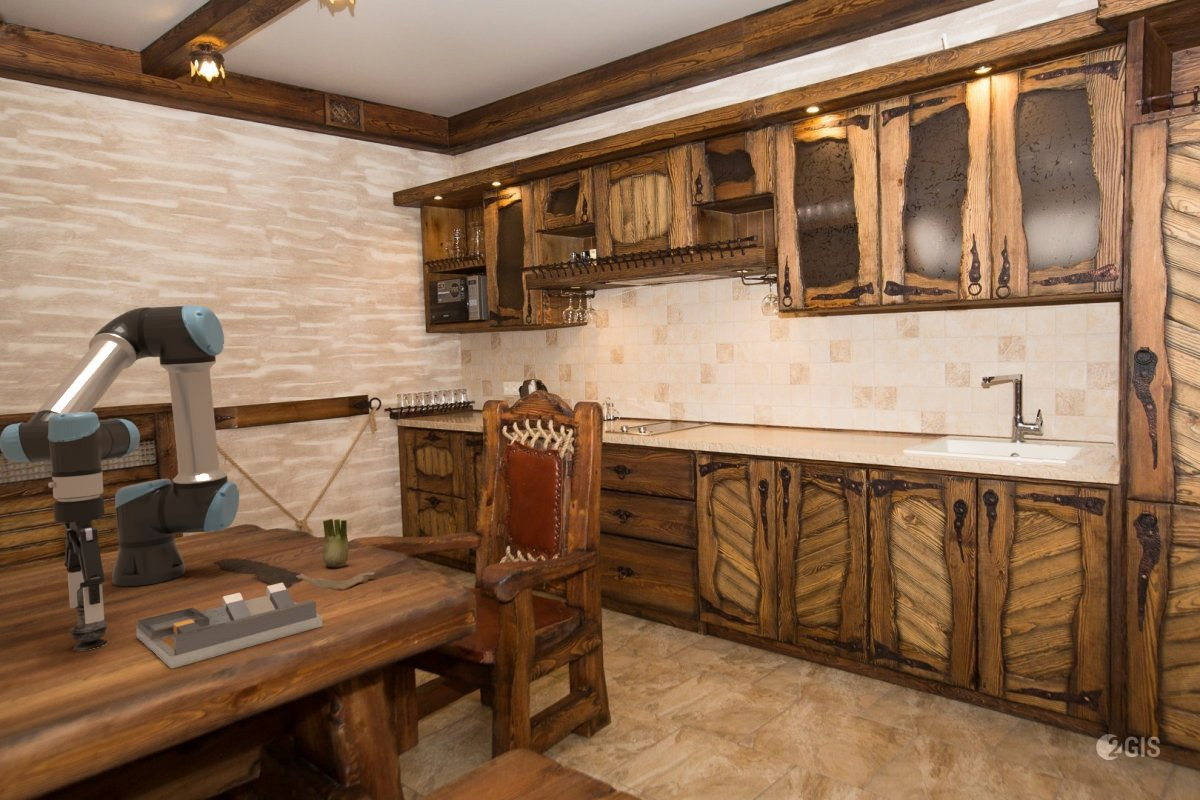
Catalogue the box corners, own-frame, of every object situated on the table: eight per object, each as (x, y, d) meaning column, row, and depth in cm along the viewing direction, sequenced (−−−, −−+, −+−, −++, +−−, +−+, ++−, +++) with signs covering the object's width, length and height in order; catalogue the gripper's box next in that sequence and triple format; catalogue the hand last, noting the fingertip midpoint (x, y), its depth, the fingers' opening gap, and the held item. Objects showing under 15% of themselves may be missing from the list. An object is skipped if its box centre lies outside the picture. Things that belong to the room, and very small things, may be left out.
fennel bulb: (352, 565, 188) (349, 517, 187) (335, 570, 184) (332, 521, 183) (336, 563, 191) (333, 515, 190) (320, 568, 187) (317, 519, 186)
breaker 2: (265, 592, 147) (266, 586, 146) (281, 588, 149) (282, 582, 148) (281, 620, 142) (282, 614, 142) (297, 616, 144) (298, 610, 144)
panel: (136, 637, 143) (134, 611, 142) (277, 602, 161) (275, 579, 160) (171, 668, 127) (169, 639, 126) (322, 626, 145) (320, 600, 145)
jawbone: (357, 595, 167) (356, 586, 167) (274, 593, 171) (273, 585, 171) (377, 579, 176) (376, 571, 175) (297, 578, 180) (296, 570, 180)
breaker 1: (221, 602, 141) (222, 596, 141) (238, 598, 144) (239, 592, 143) (236, 632, 137) (237, 626, 136) (253, 627, 139) (254, 621, 138)
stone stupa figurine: (90, 652, 136) (85, 586, 135) (62, 651, 137) (57, 585, 136) (117, 640, 141) (112, 576, 141) (90, 639, 143) (85, 576, 142)
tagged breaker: (173, 631, 137) (173, 623, 137) (191, 627, 139) (191, 619, 139) (187, 644, 131) (187, 636, 131) (206, 639, 133) (205, 631, 133)
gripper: (41, 494, 144) (49, 605, 145) (67, 508, 126) (75, 634, 127) (88, 488, 149) (95, 595, 150) (119, 501, 131) (127, 622, 132)
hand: (86, 613), depth 138 cm, fingers open, 13 cm apart
